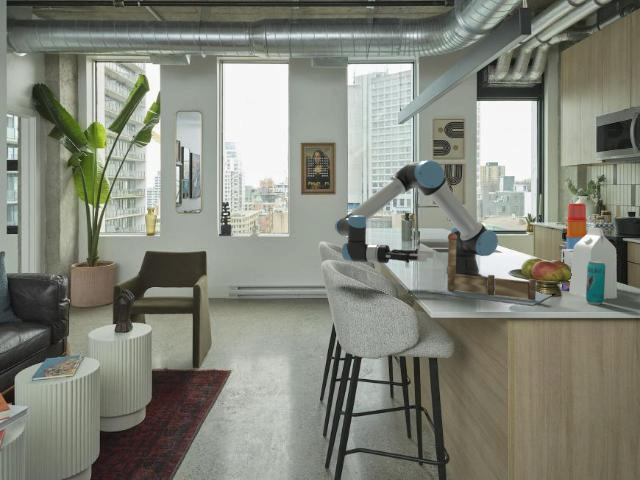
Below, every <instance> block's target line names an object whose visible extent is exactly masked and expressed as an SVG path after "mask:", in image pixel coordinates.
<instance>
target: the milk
mask: <svg viewBox="0 0 640 480" xmlns="http://www.w3.org/2000/svg"><path fill="white" fill-rule="evenodd" d="M586 234H587V235H585V236H584V237H583V238H582V239H581V240H580V241H579V242H577V243H576V245H575V246H574V249H573V259H572V269H571V273H572V276H571V279H570V290H568V293H569V294H570V295H573V296H574V295H575V296H577V297H580V298H584V299H586V285H587V265H588V263H589V261H603V262H605V263H604V264H605V266H606V267H605V288H604V300H605V299H607V298H608V299H618V297H617V295H618V292H617V291H618V290H617V289H618V287H617V285H618V284H617V279H618V278H617V249H616V247H615V245H613V243H612V242H611V241H609V240H608V239H607V237H606V236H605V234H604V229H603V228H601V227H592V226H591V227H588V229H587V231H586Z"/></svg>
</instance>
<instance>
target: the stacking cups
mask: <svg viewBox="0 0 640 480" xmlns="http://www.w3.org/2000/svg"><path fill="white" fill-rule="evenodd" d="M586 213H587V210H586V204H585V203H568V205H567V219H566V222H567V223H566V224H567V225H566V226H567V229H566V234H565V237H566V248H565V249H574V246H575V245H576V243H577V242H579V241H580V240H581V239H582V238H583V237H584V236H585V235H587V221H588V219H587V214H586Z"/></svg>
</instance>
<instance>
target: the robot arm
mask: <svg viewBox="0 0 640 480" xmlns="http://www.w3.org/2000/svg"><path fill="white" fill-rule="evenodd" d="M417 188H418V189H419V191H420V192H421V193H422V194H423V195H424V196H425V197H430V198H431V200H433V202H434V203H435V204H436V205H437V206H438V208H439V209H440V210H441V212H442V213H443V215H445V216H446V217H447V219H448V220H449V221H450V222H451V224H452V225H453V227H452V228H451V230H450V233H455V234H456V235H457V240H456V274H460V275H470V276H478V275H479V274H480V273H479V272H480V271H479V270H480V269H479V265H478V261H477V259H476V256H480V257H489V256H491V255H492V254H494V252H495V251H496V250H497V247H498V243H499V239H498V235H497V234H496V233H495V232H494V231H493V230H489V229H487V228H486V226H485V225H484V224H483V223H482V222H481V221H476V220H475V218H474V217H473V216H472V215H471V214H470V212H469V211H468V210H467V209H466V207H465V206H464V205H463V203H462V202H461V201H460V200H459V198H458V197H457V196H456V195H455V194H454V192H453V191H452V189H450V188H449V186H448V185H447V178H446V177H445V171H444V168H443V167H442V165H441V164H440V163H438V162H437V161H434V160H429V159H426V160H425V159H424V160H420V161H411V162H409V163H406V165H404V166H403V167H402V168H401V169H399V170H398V171H397V172H395V174H393V175H392V176H390V180H389V181H388V182H386V184H384V185H383V186H382V187H380V189H378V190H377V191H376V192H374V193H373V194H371V196H370V197H368V198H367V199H366V200H364V202H362V203H361V204H359V205H358V206H357V207H356V208H355V209H353V210H352V211H351V212H350V213H349V214H347V215H346V216H345V217H342V218H339V219H337V220H336V222H335V223H334V229H335V231H336V233H337V234H338V235H341V236H343V237H347V243H344V244H343V245H342V248H341V249H342V250H341V256H342V259H343V260H344V261H347V262H354V263H355V262H356V263H357V262H359V263H371V265H373V264H374V263H379V264H388V263H389V262H390V260H393V261H401V262H402V261H403V262H405V263H407V264H408V263H410V262H423V263H425V262H427V258H428V259H433V258H434V251H433V250H419V248H415V249H390V246H389V245H388V244H373V243H372V244H371V243H369V244H367V242H366V241H367V240H366V239H367V222H368V221H369V220H370V219H371V218H373V217H374V216H375V215H376V214H378V213H379V212H380V211H382V210H383V209H384V208H386V206H388V205H389V204H390V203H391V202H392V201H393V200H395V199H396V198H397V197H398V196H400V195H401V194H402V195H404V194H406V193H407V192H408V191H410V190H413V189H417ZM446 274H447V275H448V265H447V267H446Z"/></svg>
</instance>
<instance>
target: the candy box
mask: <svg viewBox="0 0 640 480" xmlns="http://www.w3.org/2000/svg"><path fill="white" fill-rule="evenodd" d="M572 259H573V249H566V248H561V262H563V263H565V264H567V265H568V266H569V267H570V268H571V269H572ZM560 290H561V291H569V290H570V283H563V284H560Z"/></svg>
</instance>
